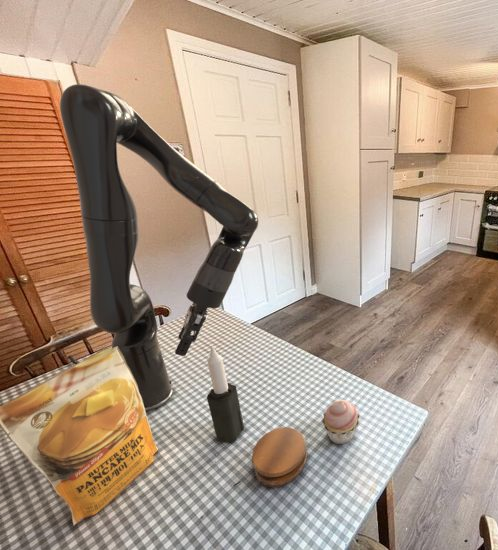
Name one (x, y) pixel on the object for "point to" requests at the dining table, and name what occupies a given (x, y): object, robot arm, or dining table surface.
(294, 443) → the coaster pile
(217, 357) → the candle
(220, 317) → the dining table surface
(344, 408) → the cupcake
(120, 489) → the pancake mix bag
